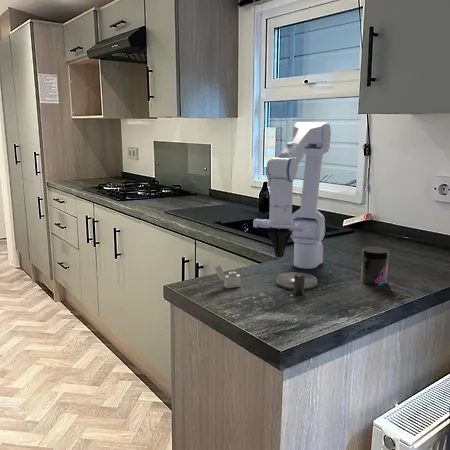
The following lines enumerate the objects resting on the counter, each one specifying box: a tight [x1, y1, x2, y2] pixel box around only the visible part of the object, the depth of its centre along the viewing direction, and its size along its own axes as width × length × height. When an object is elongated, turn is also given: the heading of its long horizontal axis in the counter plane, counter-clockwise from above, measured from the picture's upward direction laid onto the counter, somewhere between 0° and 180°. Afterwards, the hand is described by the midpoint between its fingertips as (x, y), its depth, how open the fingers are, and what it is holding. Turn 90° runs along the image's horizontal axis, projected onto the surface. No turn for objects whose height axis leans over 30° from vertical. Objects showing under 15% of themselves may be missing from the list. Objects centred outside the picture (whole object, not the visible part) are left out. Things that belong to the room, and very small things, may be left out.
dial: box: [276, 271, 318, 296], centre depth 123 cm, size 15×11×5 cm
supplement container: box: [360, 246, 390, 287], centre depth 125 cm, size 7×7×10 cm
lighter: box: [213, 263, 242, 289], centre depth 122 cm, size 7×2×8 cm, turn 112°
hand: (279, 256), depth 120 cm, fingers closed
